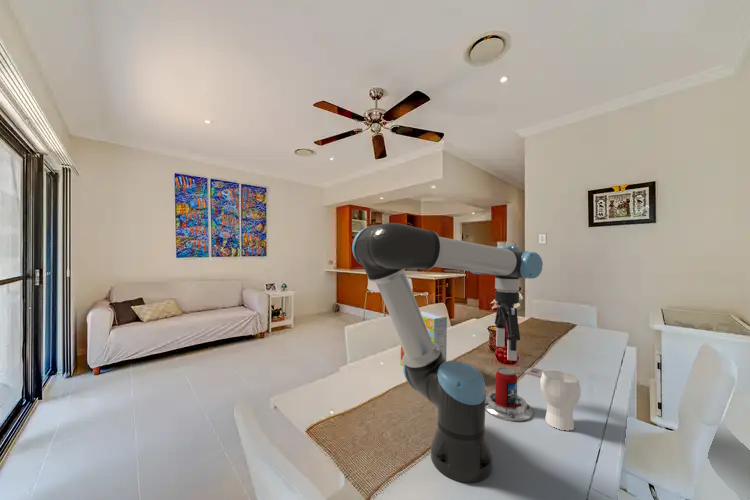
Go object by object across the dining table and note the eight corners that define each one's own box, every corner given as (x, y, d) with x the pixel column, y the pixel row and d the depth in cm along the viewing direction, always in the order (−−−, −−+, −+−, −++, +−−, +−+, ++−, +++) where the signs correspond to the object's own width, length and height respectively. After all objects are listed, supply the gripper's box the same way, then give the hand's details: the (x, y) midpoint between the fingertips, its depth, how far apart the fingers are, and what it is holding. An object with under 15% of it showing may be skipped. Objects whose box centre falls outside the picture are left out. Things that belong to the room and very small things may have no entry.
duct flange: (540, 423, 91) (540, 415, 91) (487, 419, 94) (487, 410, 94) (522, 398, 107) (522, 390, 107) (477, 394, 109) (477, 387, 109)
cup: (581, 438, 84) (581, 386, 84) (539, 426, 90) (539, 377, 90) (579, 420, 93) (579, 373, 93) (540, 410, 99) (541, 366, 99)
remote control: (524, 368, 135) (524, 362, 135) (564, 379, 124) (564, 372, 124) (519, 373, 130) (519, 366, 130) (560, 384, 119) (560, 377, 119)
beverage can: (515, 413, 96) (515, 376, 95) (493, 407, 99) (494, 371, 99) (518, 404, 101) (518, 369, 101) (497, 398, 105) (497, 365, 105)
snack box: (448, 376, 125) (448, 316, 125) (433, 381, 120) (434, 319, 120) (412, 360, 142) (413, 307, 142) (399, 364, 137) (399, 310, 137)
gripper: (532, 296, 87) (531, 367, 87) (507, 286, 112) (506, 342, 112) (506, 295, 88) (504, 365, 88) (487, 286, 113) (486, 340, 113)
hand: (505, 352), depth 100 cm, fingers open, 13 cm apart
